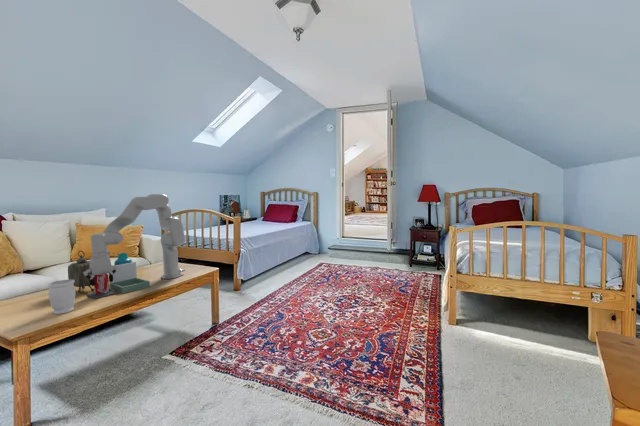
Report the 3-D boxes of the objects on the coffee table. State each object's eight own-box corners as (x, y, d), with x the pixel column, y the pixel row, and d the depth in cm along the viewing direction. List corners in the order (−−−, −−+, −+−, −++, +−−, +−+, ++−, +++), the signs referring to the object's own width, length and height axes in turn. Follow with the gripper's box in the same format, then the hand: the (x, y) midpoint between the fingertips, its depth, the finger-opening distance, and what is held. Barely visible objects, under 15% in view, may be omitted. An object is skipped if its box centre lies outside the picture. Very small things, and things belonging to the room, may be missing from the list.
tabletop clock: (97, 290, 194) (95, 250, 192) (80, 295, 186) (78, 253, 184) (85, 287, 200) (82, 248, 199) (68, 291, 192) (65, 251, 191)
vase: (137, 279, 218) (135, 252, 217) (126, 283, 208) (124, 255, 206) (122, 279, 219) (121, 251, 218) (111, 283, 209) (109, 255, 207)
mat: (109, 290, 194) (109, 289, 194) (118, 293, 187) (118, 292, 187) (86, 295, 184) (86, 294, 184) (95, 299, 178) (95, 297, 177)
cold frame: (136, 282, 210) (135, 261, 209) (149, 286, 201) (148, 264, 200) (109, 288, 197) (108, 266, 196) (122, 293, 188) (121, 270, 187)
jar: (60, 307, 165) (58, 279, 164) (81, 307, 166) (79, 278, 165) (44, 315, 154) (42, 285, 153) (67, 314, 155) (64, 284, 154)
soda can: (112, 292, 188) (110, 272, 187) (100, 295, 181) (99, 275, 180) (103, 291, 190) (102, 271, 189) (91, 294, 183) (90, 274, 183)
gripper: (113, 251, 194) (115, 279, 195) (79, 256, 179) (81, 286, 180) (119, 252, 189) (120, 280, 190) (85, 258, 175) (87, 288, 176)
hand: (101, 283), depth 185 cm, fingers open, 9 cm apart
